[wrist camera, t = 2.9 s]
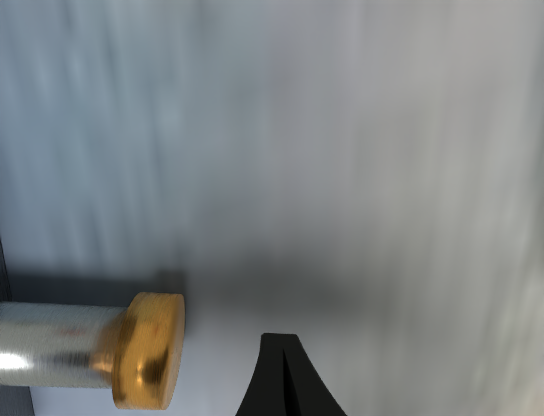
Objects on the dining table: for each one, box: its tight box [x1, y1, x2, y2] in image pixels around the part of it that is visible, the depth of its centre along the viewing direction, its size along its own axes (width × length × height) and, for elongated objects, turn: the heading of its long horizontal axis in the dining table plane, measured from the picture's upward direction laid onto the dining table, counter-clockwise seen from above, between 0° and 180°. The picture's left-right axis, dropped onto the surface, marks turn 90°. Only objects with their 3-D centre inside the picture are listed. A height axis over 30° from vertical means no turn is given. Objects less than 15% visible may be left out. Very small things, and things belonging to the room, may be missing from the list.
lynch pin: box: [0, 292, 185, 410], centre depth 12 cm, size 12×4×4 cm, turn 85°
